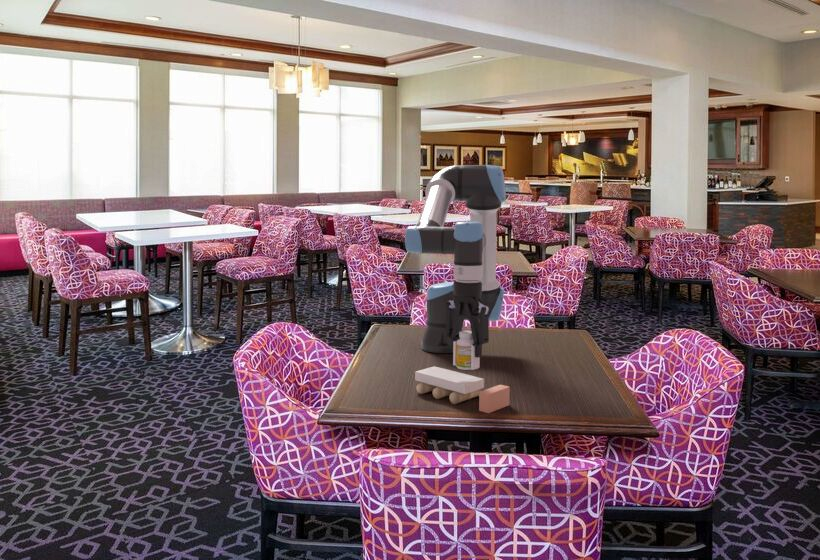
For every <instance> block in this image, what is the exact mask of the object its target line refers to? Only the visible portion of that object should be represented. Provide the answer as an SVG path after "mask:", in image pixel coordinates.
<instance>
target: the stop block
mask: <svg viewBox="0 0 820 560" xmlns="http://www.w3.org/2000/svg"><path fill="white" fill-rule="evenodd" d="M510 392H511V389H510V386H508V385H503V384H498V385H494V386H492V387H489V388H486V389H484V390H481V391H480V392H479V396H478V397H479V398H478V404H479V405H478V411H479V412H483V413H486V414H491V413H493V412H495V411H497V410H501V409H503V408H505V407H508V406H510V394H511V393H510Z"/></svg>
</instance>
